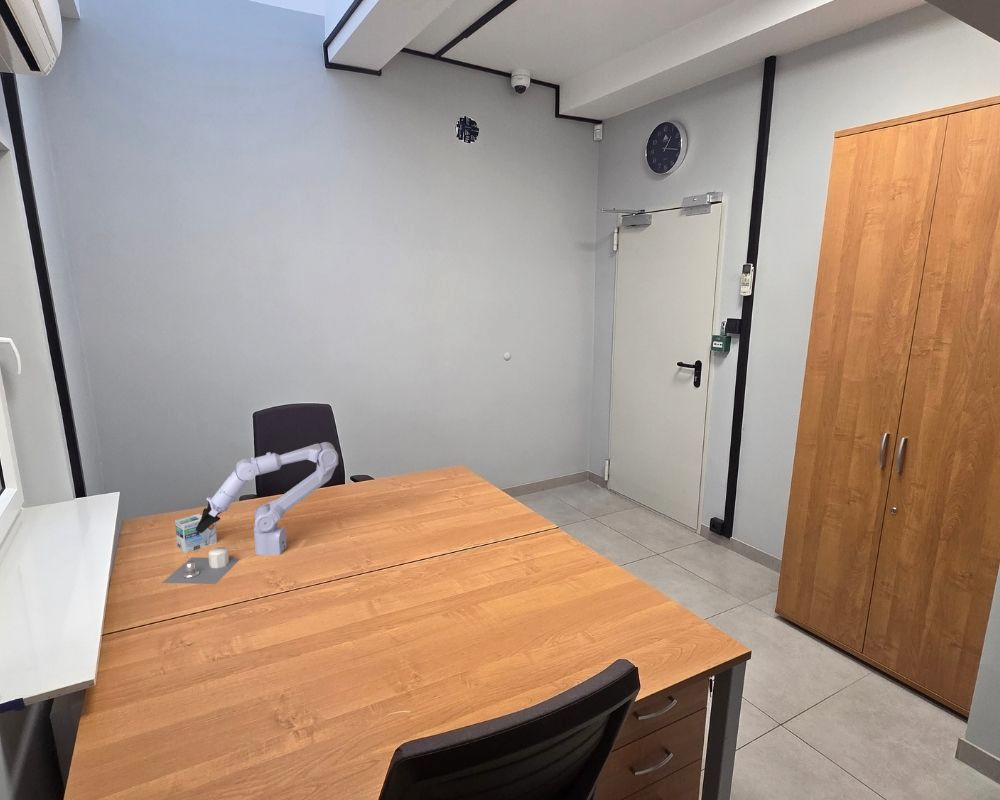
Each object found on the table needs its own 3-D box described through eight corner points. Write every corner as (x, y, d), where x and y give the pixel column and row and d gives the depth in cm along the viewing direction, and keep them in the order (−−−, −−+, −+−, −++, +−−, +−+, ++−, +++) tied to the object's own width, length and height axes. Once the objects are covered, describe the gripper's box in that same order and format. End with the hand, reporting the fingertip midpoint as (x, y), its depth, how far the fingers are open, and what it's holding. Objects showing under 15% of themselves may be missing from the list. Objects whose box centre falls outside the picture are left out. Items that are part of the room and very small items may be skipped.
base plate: (241, 561, 179) (240, 558, 179) (215, 586, 163) (215, 583, 163) (191, 560, 179) (191, 557, 179) (161, 585, 163) (161, 582, 163)
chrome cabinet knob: (202, 571, 170) (201, 559, 170) (194, 578, 166) (193, 566, 165) (188, 571, 170) (186, 559, 170) (179, 578, 166) (178, 565, 165)
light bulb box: (185, 556, 182) (182, 525, 180) (176, 550, 186) (173, 520, 184) (218, 545, 190) (216, 515, 188) (209, 539, 194) (206, 510, 192)
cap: (231, 560, 178) (230, 547, 177) (223, 568, 172) (222, 554, 172) (215, 559, 178) (214, 546, 177) (206, 567, 172) (205, 554, 172)
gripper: (220, 480, 182) (193, 514, 181) (213, 491, 168) (184, 528, 167) (239, 491, 184) (213, 525, 183) (233, 503, 171) (205, 540, 169)
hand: (200, 527), depth 175 cm, fingers open, 7 cm apart
